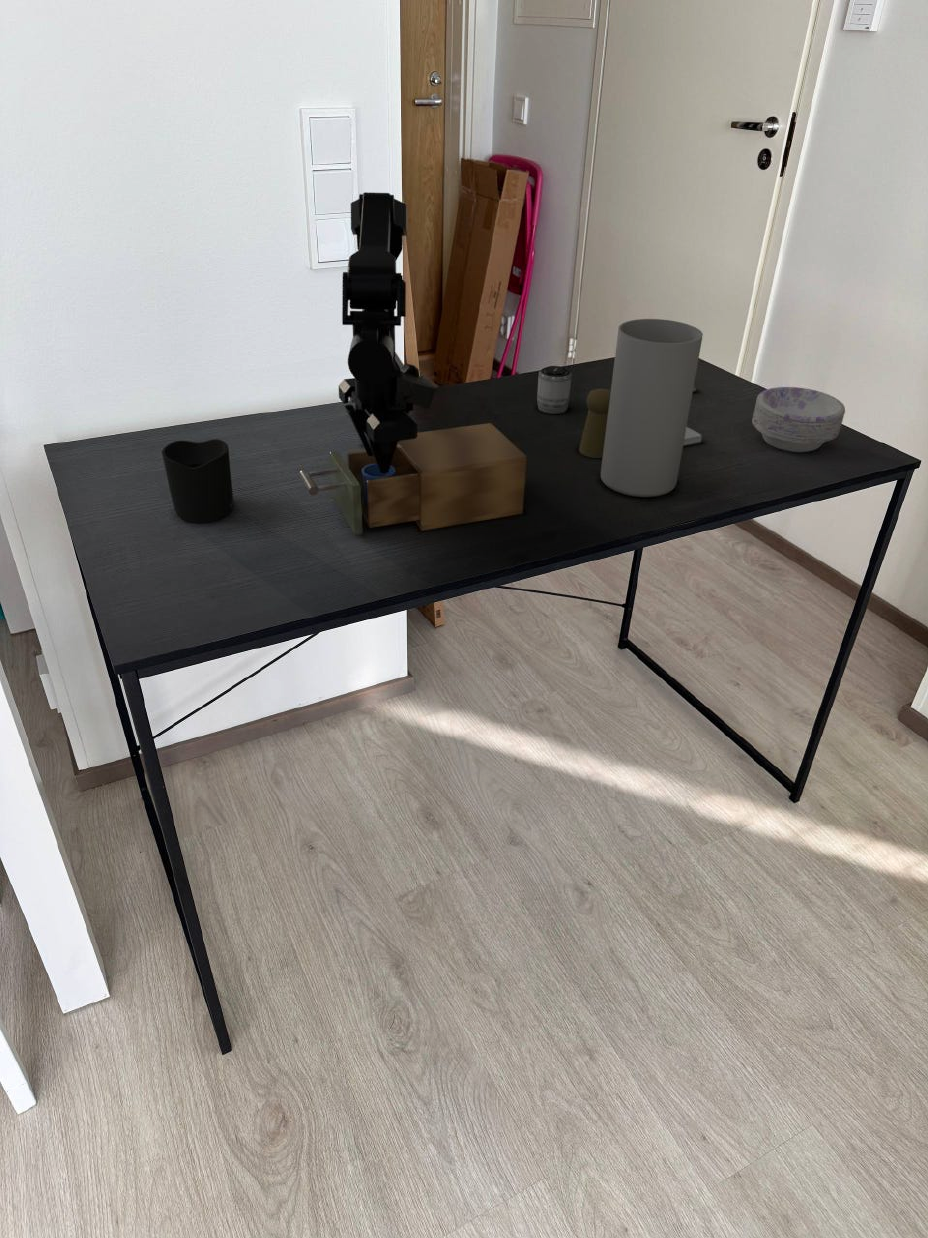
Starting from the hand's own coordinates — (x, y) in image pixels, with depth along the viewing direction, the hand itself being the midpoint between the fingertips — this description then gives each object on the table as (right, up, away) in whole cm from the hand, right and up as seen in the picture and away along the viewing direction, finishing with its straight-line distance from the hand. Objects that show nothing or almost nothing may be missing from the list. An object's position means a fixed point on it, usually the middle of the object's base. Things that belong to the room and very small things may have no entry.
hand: (377, 463), depth 132 cm
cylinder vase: (+42, 0, +17) cm, 45 cm away
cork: (+36, +7, +27) cm, 46 cm away
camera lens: (+30, +18, +43) cm, 56 cm away
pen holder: (-27, -6, +5) cm, 28 cm away
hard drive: (+48, +10, +32) cm, 59 cm away
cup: (0, -5, +4) cm, 7 cm away
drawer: (-1, -6, +4) cm, 8 cm away
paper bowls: (+73, +9, +32) cm, 80 cm away
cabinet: (+12, -5, +9) cm, 15 cm away
